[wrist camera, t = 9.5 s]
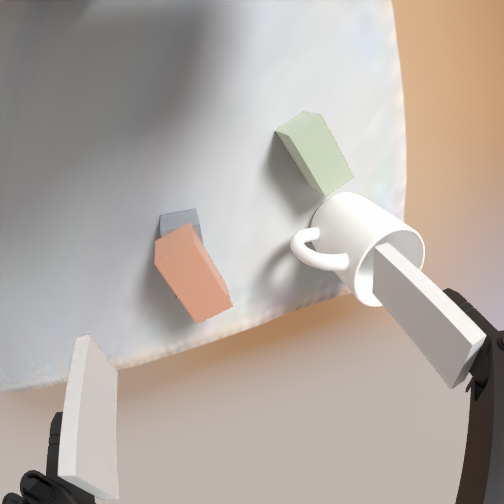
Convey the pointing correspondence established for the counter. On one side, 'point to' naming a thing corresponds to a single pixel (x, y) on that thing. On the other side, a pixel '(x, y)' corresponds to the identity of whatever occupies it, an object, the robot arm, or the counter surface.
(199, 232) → the slate brick
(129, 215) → the counter surface
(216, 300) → the terracotta brick
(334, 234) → the mug
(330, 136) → the sage brick
